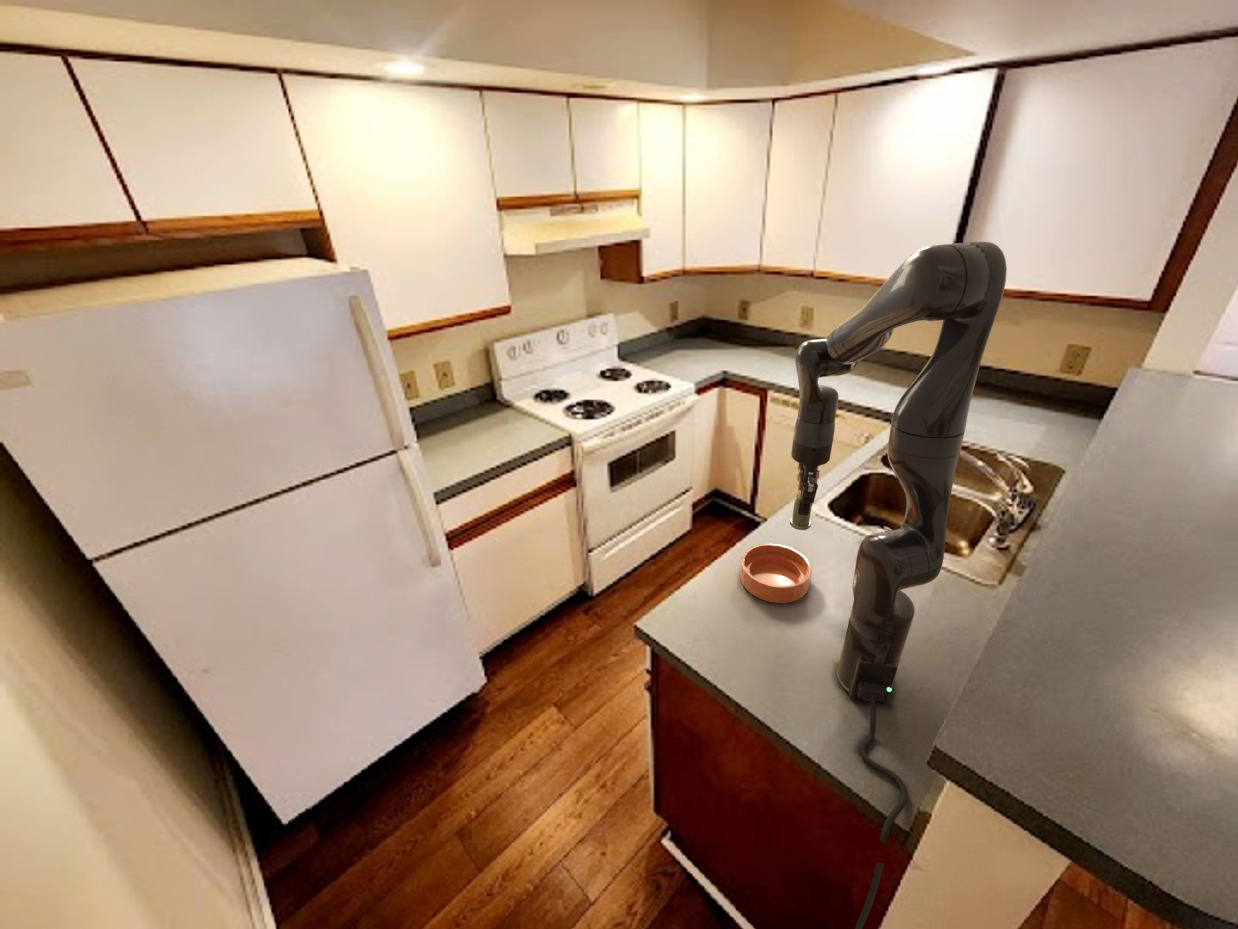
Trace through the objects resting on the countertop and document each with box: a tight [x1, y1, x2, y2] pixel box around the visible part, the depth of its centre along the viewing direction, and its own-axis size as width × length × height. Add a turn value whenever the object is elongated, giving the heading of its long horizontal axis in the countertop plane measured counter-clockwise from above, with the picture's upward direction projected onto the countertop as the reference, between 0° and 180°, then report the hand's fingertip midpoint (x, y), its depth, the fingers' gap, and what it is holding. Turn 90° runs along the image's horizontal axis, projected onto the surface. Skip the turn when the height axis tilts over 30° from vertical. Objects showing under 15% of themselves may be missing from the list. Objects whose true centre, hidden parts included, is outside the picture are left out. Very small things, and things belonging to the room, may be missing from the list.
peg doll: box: [789, 490, 813, 531], centre depth 115 cm, size 4×4×9 cm
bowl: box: [740, 543, 813, 604], centre depth 122 cm, size 15×15×5 cm
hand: (802, 508), depth 115 cm, fingers closed on peg doll, 3 cm apart
